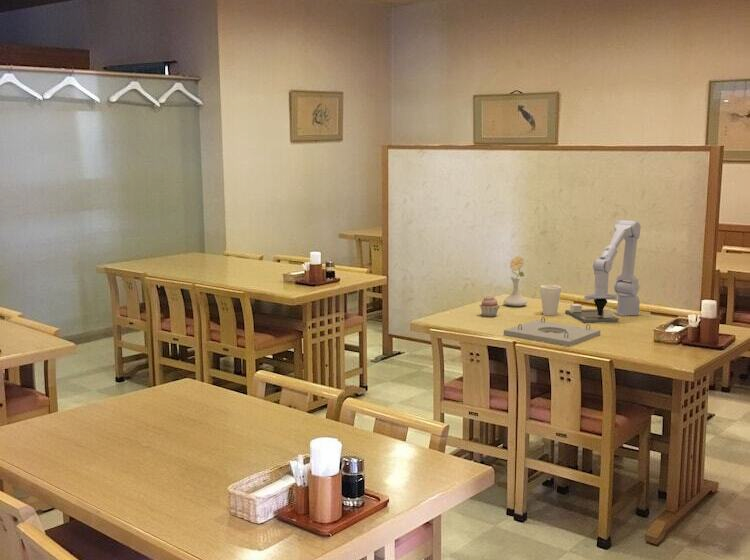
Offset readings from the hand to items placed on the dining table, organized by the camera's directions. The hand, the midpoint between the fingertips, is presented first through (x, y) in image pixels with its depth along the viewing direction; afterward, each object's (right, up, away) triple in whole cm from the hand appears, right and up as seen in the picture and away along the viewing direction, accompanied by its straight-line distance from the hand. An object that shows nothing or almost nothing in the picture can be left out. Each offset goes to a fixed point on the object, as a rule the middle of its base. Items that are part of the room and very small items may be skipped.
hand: (599, 315), depth 370 cm
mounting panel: (-27, -8, -28) cm, 40 cm away
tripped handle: (+3, -1, +1) cm, 3 cm away
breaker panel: (-2, -1, +7) cm, 7 cm away
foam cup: (-19, 0, +14) cm, 24 cm away
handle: (-8, +1, +13) cm, 15 cm away
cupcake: (-48, -1, +11) cm, 49 cm away
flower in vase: (-32, +3, +34) cm, 47 cm away
